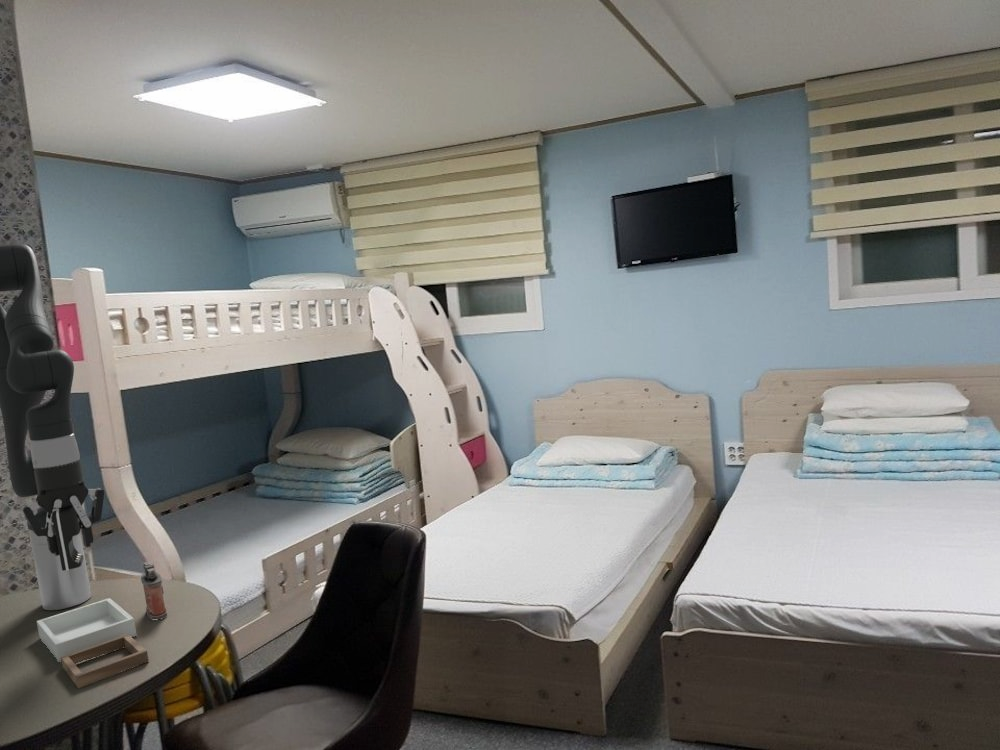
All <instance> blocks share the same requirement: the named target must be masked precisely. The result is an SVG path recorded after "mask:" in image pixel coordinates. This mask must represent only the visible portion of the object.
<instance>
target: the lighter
mask: <svg viewBox="0 0 1000 750" xmlns="http://www.w3.org/2000/svg"><path fill="white" fill-rule="evenodd" d="M143 570H144V573H142V574H141V575H140V581H141V584H142V585H143V592H144V598H145V605H146V607H145V610H146V615H147V617H148V616H149V617H150V618H152V619H161V618H164V617H166V616H167V617H168V611H167V607H166V604H165V600H164V599H165V598H164V586H163V585H162V584H163V582H162V581H163V580H162V576H161V574H159V572H156V568H155V565H154V563H153V564H151V563H150V562H149V561H145V562H143ZM149 617H148V618H149ZM167 617H166V618H167ZM150 618H149V619H150ZM152 619H151V620H152ZM164 619H165V618H164Z"/></svg>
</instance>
